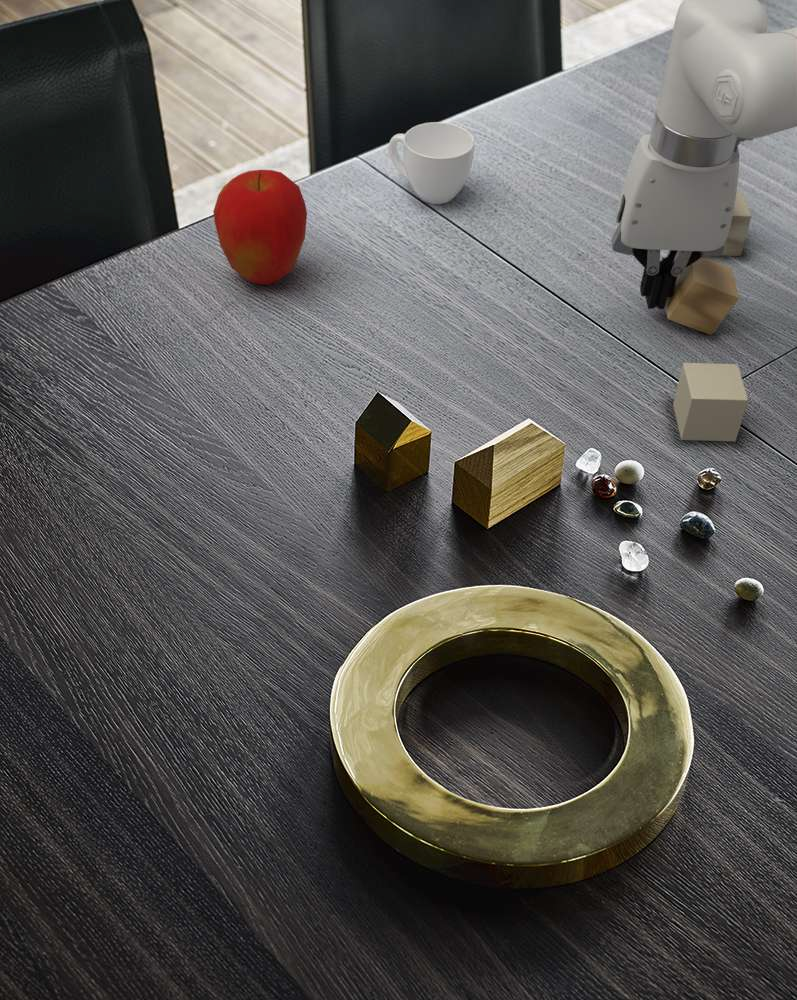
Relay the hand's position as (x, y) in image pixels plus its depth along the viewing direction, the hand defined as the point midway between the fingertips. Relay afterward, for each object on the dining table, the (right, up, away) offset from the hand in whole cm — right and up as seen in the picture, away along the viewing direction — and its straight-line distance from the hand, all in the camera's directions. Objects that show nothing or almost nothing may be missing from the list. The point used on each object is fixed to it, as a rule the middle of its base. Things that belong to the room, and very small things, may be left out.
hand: (654, 300), depth 125 cm
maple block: (+3, -1, +1) cm, 4 cm away
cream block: (+3, -13, -10) cm, 16 cm away
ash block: (+9, +8, +11) cm, 16 cm away
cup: (-22, +15, +16) cm, 31 cm away
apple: (-39, +3, +4) cm, 40 cm away
